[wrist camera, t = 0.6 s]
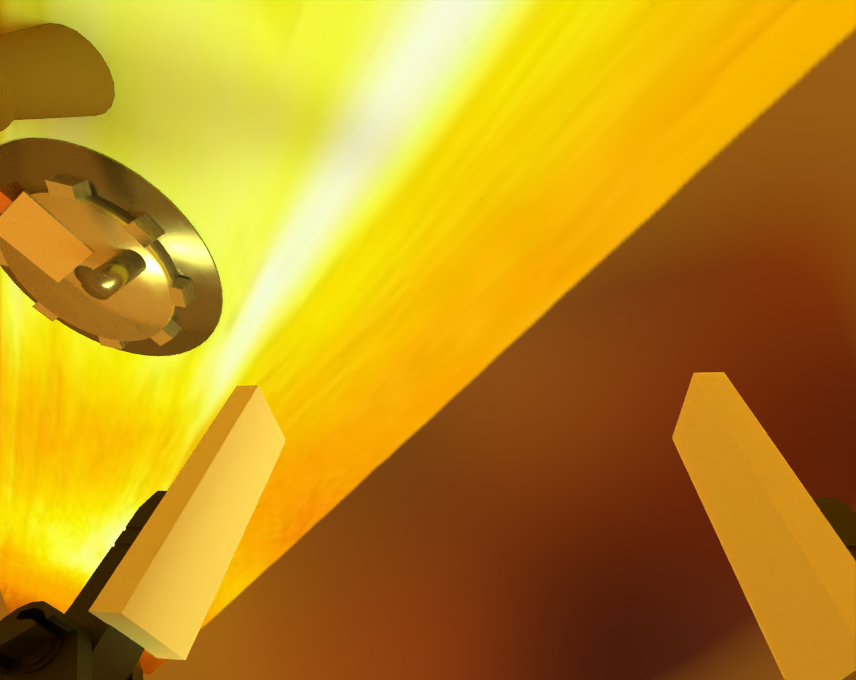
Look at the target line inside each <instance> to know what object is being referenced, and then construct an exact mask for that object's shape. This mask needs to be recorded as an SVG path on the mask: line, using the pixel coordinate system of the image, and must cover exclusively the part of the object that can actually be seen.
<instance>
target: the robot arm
mask: <svg viewBox="0 0 856 680" xmlns="http://www.w3.org/2000/svg"><path fill="white" fill-rule="evenodd" d="M672 439H673V441H674V443H675V445H676V447H677V450H678V452H679V454H680V456H681V458H682V460H683V463H684V465H685V467H686V469H687V471H688V473H689V475H690V477H691V480H692V482H693V484H694V486H695V488H696V491H697V493H698V495H699V497H700V499H701V501H702V503H703V505H704V508H705V510H706V512H707V514H708V516H709V518H710V521H711V523H712V525H713V527H714V529H715V531H716V533H717V536H718V538H719V540H720V542H721V544H722V547H723V549H724V551H725V553H726V555H727V557H728V559H729V562H730V564H731V566H732V568H733V570H734V572H735V574H736V577H737V579H738V581H739V583H740V585H741V587H742V589H743V592H744V594H745V596H746V598H747V600H748V602H749V605H750V607H751V609H752V611H753V613H754V615H755V618H756V620H757V622H758V624H759V626H760V628H761V630H762V633H763V635H764V636H765V639H766V641H767V643H768V646H769V648H770V650H771V652H772V654H773V656H774V658H775V661H776V663H777V665H778V667H779V669H780V671H781V673H782V676H783V678H784V680H856V512H854V511H853V510H852V509H851V508H849V507H848V506H847V505H846V504H844V503H843V502H842V501H841V500H839V499H837V498H811V496H810V495H809V493H808V492H807V491H806V489H805V488H804V486H803V485H802V483H801V482H800V481H799V479H798V478H797V476H796V475H795V473H794V472H793V471H792V469H791V468H790V466H789V465H788V464H787V462H786V461H785V459H784V458H783V456H782V455H781V453H780V452H779V451H778V449H777V448H776V446H775V445H774V443H773V442H772V441H771V439H770V438H769V436H768V435H767V433H766V432H765V430H764V429H763V428H762V426H761V425H760V423H759V422H758V420H757V419H756V418H755V416H754V415H753V413H752V412H751V410H750V409H749V408H748V406H747V405H746V403H745V402H744V400H743V399H742V397H741V396H740V395H739V393H738V392H737V390H736V389H735V387H734V386H733V385H732V383H731V382H730V380H729V379H728V377H727V376H726V375H725V373H724V372H712V373H711V372H710V373H694V374H693V377H692V380H691V383H690V386H689V389H688V392H687V395H686V398H685V401H684V404H683V407H682V410H681V413H680V416H679V419H678V422H677V424H676V428H675V430H674V433H673V437H672ZM285 441H286V440H285V438H284V436H283V434H282V432H281V430H280V428H279V426H278V424H277V422H276V420H275V418H274V416H273V414H272V412H271V410H270V408H269V406H268V404H267V402H266V400H265V398H264V396H263V394H262V392H261V390H260V388H259V386H258V385H257V386H236V388H235V389H234V391H233V393H232V394H231V396H230V397H229V399H228V400H227V402H226V403H225V405H224V406H223V408H222V409H221V411H220V412H219V414H218V415H217V417H216V418H215V420H214V421H213V423H212V424H211V426H210V427H209V429H208V430H207V432H206V433H205V435H204V436H203V438H202V439H201V441H200V443H199V444H198V446H197V447H196V449H195V450H194V452H193V453H192V455H191V456H190V458H189V459H188V461H187V462H186V464H185V465H184V467H183V468H182V470H181V471H180V473H179V474H178V476H177V477H176V479H175V480H174V482H173V483H172V485H171V486H170V488H169V489H168V491H157V492H156V493H155V494H154V495H152V496H151V497H150V498H149V499H148V500H147V501H146V502H145V503H144V504H143V505H142V506H140V507H139V509H138V510H137V512H136V513H135V514H134V516H133V517H132V519H131V520H130V522H129V523H128V525H127V526H126V530H125V531H123V532H122V533H121V535H120V536H119V537H118V539H117V540H116V542H115V546H114V547H112V548H111V549H110V550H109V552H108V553H107V555H106V556H105V558H104V559H103V560H102V562H101V563H100V565H99V566H98V568H97V569H96V571H95V572H94V573H93V575H92V576H91V578H90V579H89V581H88V582H87V583H86V585H85V586H84V588H83V589H82V591H81V592H80V594H79V595H78V596H77V598H76V599H75V601H74V602H73V604H72V605H71V606H70V608H69V609H68V610H67V611H66V613H65V614H63V613H62V612H60V611H59V610H57V609H56V608H54V607H52V606H51V605H49V604H47V603H46V602H44V601H40V602H31V603H29V604H27V605H24V606H22V607H20V608H18V609H16V610H15V611H13V612H12V613H10V614H9V615H8V616H6V617H5V618H3V619H2V620H1V621H0V680H143V671H142V668H141V665H140V662H139V661H138V660H139V658H140V656H141V654H142V653H143V651H144V649H145V650H146V651H148V652H149V653H151V654H152V655H154V656H155V657H156V658H165V659H177V660H186V658H187V655H188V653H189V651H190V649H191V647H192V645H193V642H194V640H195V638H196V636H197V634H198V632H199V629H200V627H201V625H202V623H203V621H204V618H205V616H206V614H207V612H208V610H209V607H210V605H211V603H212V601H213V599H214V597H215V594H216V592H217V590H218V588H219V586H220V583H221V581H222V579H223V577H224V575H225V573H226V570H227V568H228V566H229V564H230V562H231V559H232V557H233V555H234V553H235V551H236V548H237V546H238V544H239V542H240V540H241V538H242V535H243V533H244V531H245V529H246V527H247V524H248V522H249V520H250V518H251V516H252V514H253V511H254V509H255V507H256V505H257V503H258V500H259V498H260V496H261V494H262V492H263V489H264V487H265V485H266V483H267V481H268V479H269V476H270V474H271V472H272V470H273V468H274V465H275V463H276V461H277V459H278V457H279V455H280V452H281V450H282V448H283V446H284V444H285Z"/></svg>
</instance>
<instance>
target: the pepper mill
mask: <svg viewBox="0 0 856 680" xmlns="http://www.w3.org/2000/svg"><path fill="white" fill-rule="evenodd" d="M114 96H115V95H114V82H113V79H112V76H111V73H110V70H109V68H108V66H107V64H106V63H105V61H104V59H103V57H102V56H101V54H100V53H99V52H98V51H97V50H96V48H95V47H94V46H93V45H92V44H91V43H90V41H88V40H87V39H86V38H84V37H83V36H82V35H81V34H79V33H78V32H77V31H75V30H73V29H71V28H68V27H66V26H64V25H60V24H51V23H50V24H45V25H41V26H37V27H33V28H29V29H24V30H20V31H16V32H12V33H7V34H3V35H0V131H2V130H4V129H5V128H7V127H8V126H9V125H10V123H11V122H12V121H13V120H22V119H41V118H61V117H80V116H96V115H100V114H103V113H105V112H106V111H107V110H108V109H109V108H110V107H111V106H112V103H113V100H114Z"/></svg>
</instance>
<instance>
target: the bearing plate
mask: <svg viewBox="0 0 856 680" xmlns="http://www.w3.org/2000/svg"><path fill="white" fill-rule="evenodd" d="M62 173H64V174H68V175H72V176H76V177H80V178H84V179H88V182H89V186H90V189H91V193H92V195H95V196H97V197H100V198H102V199H104V200H106V201H108V202H110V203H112V204H114V205H116V206H117V207H119V208H121V209H122V210H124V211H125V212H127V213H128V214H129V215H131V216H132V217H134V218H135V219H137V218H139V217H141V216H142V215H144V214H147V215H148V216H149V217H150V218H151V219H152V220H153V221H154V222H155V223H156V224H157V225H158V226H159V227H160V228H161V229H162V230H163V231H164V232H165V234H164V235H163V236H161V237H160V238H159V239H158V241H159V243H160V244H161V245H162V246H163V248H164V249H165V251H166V252H167V253H168V255H169V256H170V258H171V260H172V262H173V264H174V266H175V268H176V270H177V273H178V275H179V277H181V278H185V279H189V280H192V281H193V288H194V295H195V298H194V299H193V300H192V301H191V302H190V303H189V304H188V305H187V306H186V307H185V308H183V307H180V308H179V310H178V313H177V314H176V316H175V317H174V318H173V319H172V320H173V321H175V322H176V323H177V324H178V325H179V326H180V327H181V328H182V329H181V330H180V331H179V333H178V334H177V335H176V336H175V337H174V338H173V339H171V340H170V341H168V342H166V343H165V344H163V345H162V346H160V345H158V344H157V343H156V342H155V341H154V340H152V339H151V338H147V339H144V340H139V341H130V342H129V343H128V344H127V345H126V346H124V347H123V348H122V349H118V350H122V351H126V352H130V353H134V354H141V355H149V356H169V355H175V354H181V353H184V352H187V351H190V350H192V349H194V348H196V347H197V346H199V345H201V344H202V343H203V342H204V341H206V340H207V339H208V338H209V336H210V335H211V334H212V333H213V332H214V330H215V328H216V326H217V324H218V323H219V319H220V316H221V313H222V304H223V298H222V287H221V282H220V277H219V274H218V271H217V268H216V266H215V263H214V261H213V258H212V256H211V254H210V252H209V250H208V248H207V247H206V245H205V243H204V242H203V240H202V239H201V237H200V235H199V234H198V232H197V231H196V230H195V228H194V227H193V226H192V224H191V223H190V222H189V220H188V219H187V218H186V217H185V216H184V215H183V214H182V212H181V211H180V210H179V209H178V208H177V207H176V206H175V205H174V204H173V203H172V202H171V201H170V200H169V199H168V198H167V197H166V196H165V195H164V194H162V193H161V192H160V191H159V190H158V189H157V188H156V187H154V186H153V185H152V184H150V183H149V182H148V181H146V180H145V179H144V178H143V177H141V176H140V175H138V174H137V173H135V172H134V171H132V170H130V169H129V168H127V167H126V166H124V165H123V164H121V163H119V162H117V161H115V160H113V159H111V158H109V157H107V156H105V155H103V154H101V153H98V152H96V151H93V150H91V149H88V148H86V147H83V146H79V145H76V144H72V143H69V142H65V141H58V140H52V139H25V140H19V141H13V142H11V143H8V144H5V145H3V146H0V187H2V186H5V185H7V184H10V183H13V182H17V183H18V184H19V185H20V186H22V187H23V188H24V189H25V190H26V191H27V192H28V193H29V194H32V193H34V192H37V191H40V190H43V189H48V188H47V185H46V182H45V180H46V179H48V178H51V177H54V176H56V175H59V174H62ZM0 215H1V213H0ZM0 266H1V267H2V268H3V270H4V271H5V272H6V273H7V274H8V276H9V277H10V278H11V279H12V280H13V282H14V283H15V284H16V285H17V286H18V287H19V288H20V289H21V290H22V291H23V292H24V293H25V294H26V295H27V296H28V297H29V298H30V299H32V300H33V301H34V302H35V303H37V302H38V301H37V300H36V299H35V298H34V297H33V296H32V295H31V294H30V293H29V292H28V291H27V290H26V289H25V288H24V287H23V285H22V284H21V283H20V282H19V281H18V279H17V278H16V277H15V275H14V274H13V272H12V271H11V269H10V268H9V266H4V265H0ZM57 320H58V321H60V322H61V323H63V324H64V325H66V326H68V327H69V328H71V329H73V330H75V331H76V332H78V333H80V334H82V335H84V336H86V337H88V338H90V339H92V340H94V341H96V342H99V343H100V340H99V337H98V336H97V335H94V334H91V333H88V332H86V331H84V330H81V329H79V328H77V327H75V326H73V325H71V324H69V323H68V322H66V321H64V320H63V319H61V318H59V317H58V318H57ZM115 349H116V348H115Z"/></svg>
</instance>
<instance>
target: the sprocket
mask: <svg viewBox="0 0 856 680" xmlns="http://www.w3.org/2000/svg"><path fill="white" fill-rule="evenodd" d="M45 182H46V185H47V188H48V189H43V190H40V191H37V192H34V193H32V194H29V193H28V192H27V191H26V190H25V189H24V188H23V187H22V186H20V185H19V184H18V183H17V182H13V183H10V184H7V185H5V186H2V187H0V213H1V215H0V265H4V266H9V268H10V269H11V271H12V272H13V274H14V275H15V277H16V278H17V279H18V281H19V282H20V283H21V284H22V285H23V287H24V288H25V289H26V290H27V291H28V292H29V293H30V294H31V295H32V296H33V297H34V298H35V299H36V300H37V301H38V302H37V303H36V304H35V305H34V306H32V307H34V308H35V309H36V310H38V311H39V312H40V313H42V314H43V315H44V316H46V317H47V318H48V319H50V320H51V321H54V320H55V319H57V318H58V317H59V318H61V319H63V320H64V321H66V322H68V323H69V324H71V325H73V326H75V327H77V328H79V329H81V330H84V331H86V332H88V333H91V334H94V335H97V336H98V337H99V340H100V343H101V345H103V346H107V347H112V348H116V349H122V348H123V347H124V346H126V345H127V344H128V343H129V342H130V341H139V340H144V339H147V338H151V339H152V340H154V341H155V342H156V343H157V344H158V345H160V346H162V345H163V344H165V343H166V342H168V341H170V340H171V339H173V338H174V337H175V336H176V335H177V334H178V333H179V331H180V330H181V329H182V328H181V327H180V326H179V325H178V324H177V323H176V322H175V321H173V320H172V319H173V318H174V317H175V316H176V314H177V313H178V310H179V308H180V307H183V308H185V307H186V306H187V305H188V304H189V303H190V302H191V301H192V300H193V299H194V298H195V295H194V288H193V281H192V280H189V279H185V278H181V277H179V275H178V273H177V270H176V268H175V266H174V264H173V262H172V260H171V258H170V256H169V255H168V253H167V252H166V251H165V249H164V248H163V246H162V245H161V244H160V243H159V241H158V239H159V238H160V237H161V236H163V235H164V234H165V232H164V231H163V230H162V229H161V228H160V227H159V226H158V225H157V224H156V223H155V222H154V221H153V220H152V219H151V218H150V217H149V216H148V215H147V214H144V215H142V216H141V217H139V218H137V219H135V218H134V217H132V216H131V215H129V214H128V213H127V212H125V211H124V210H122V209H121V208H119V207H117V206H116V205H114V204H112V203H110V202H108V201H106V200H104V199H102V198H100V197H97V196H95V195H92V193H91V189H90V186H89V182H88V179H84V178H80V177H76V176H72V175H68V174H64V173H62V174H59V175H56V176H54V177H51V178H48V179H46V180H45Z"/></svg>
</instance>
